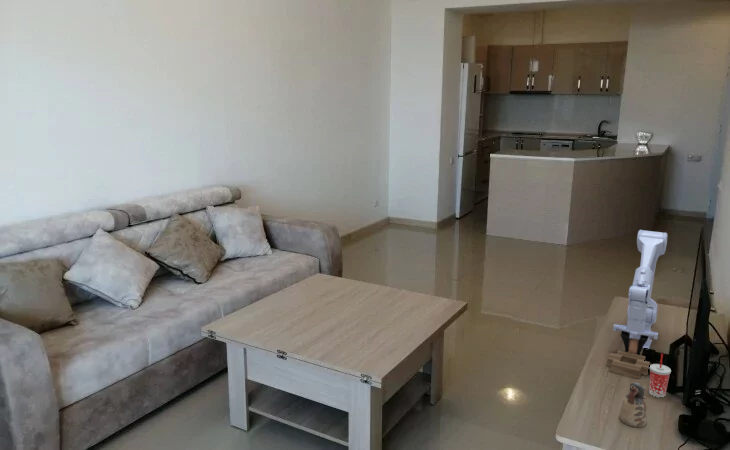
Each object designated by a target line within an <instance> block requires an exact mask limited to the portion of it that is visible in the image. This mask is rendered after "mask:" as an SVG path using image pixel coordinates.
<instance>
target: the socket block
mask: <svg viewBox="0 0 730 450" xmlns="http://www.w3.org/2000/svg"><path fill="white" fill-rule="evenodd" d="M644 360H645V361H644ZM649 365H651V362H650V361H647V360H646V356H645V355H641V354H640V355H637V354H633V353H628V352H625V350H624V351H622V350H619V349H618V350H617V352H616V353H611V352H610V353H609V354H608V355H607V359H606V367H609V368H610V371H609V372H610V373H613V374H616V375H617V374H618V375H621V376H625V377H629V378H634V379H636V380H637V379H638V380H639V379H640V377H641V375H642V374H643V375H642V376H646V375H647V376H648V374H649V372H648V369H649V370H650V367H649Z"/></svg>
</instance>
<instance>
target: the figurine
mask: <svg viewBox="0 0 730 450" xmlns="http://www.w3.org/2000/svg"><path fill="white" fill-rule="evenodd" d="M629 385H630V386H629V393H628V394H626V395H625V396H624V397H623V399H622V402H621V407H620V410H619V419H620V421H621V422H622V423H624V424H625V425H627V426H630V427H633V428H642V427H645V426H647V425H646V424H647V405H646V402H645V401H644V400H646V399H647V397H645V391H646V388H645V387H643V386H642V385H641V384H640V383H639V382H633V383H630V384H629Z"/></svg>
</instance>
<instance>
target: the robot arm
mask: <svg viewBox="0 0 730 450" xmlns="http://www.w3.org/2000/svg"><path fill="white" fill-rule="evenodd" d="M668 236H669V235H668V233H667V232H660V231H652V230H645V229H644V230H643V229H639V230H638V231H637V237H636V245H637V250H638V252H640V253H641V255H640V257H641V258H640V265H639V267H637V268H635V272H634V276H633V281H632V285H630V286H629V289H628V305H627V311H626V317H627V322H626V325H625V324H616V323H614V324H613V328H612V331H613V332H620V337H621V339H622V341H623V345H624V352H628V344H629V338H636V339H639V349H638V355H641V352H642V350H643V349H644V348H648V349H647V350H649V349H650V347H651V345H652V342H653V340H658V337H659V332H656V331H652V326H651V324H652V325H654V324H655V323H657V317H658V303H657V302H656V301H655V300H654V299H652V292H653V287H654V286H653V284H654V279H655V274H656V267H657V262H658V259H659V257H660V256H663V255H665V253H666V249H667V244H668ZM647 305H650V306H652V307H648V306H647Z"/></svg>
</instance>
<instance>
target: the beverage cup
mask: <svg viewBox="0 0 730 450" xmlns="http://www.w3.org/2000/svg"><path fill="white" fill-rule="evenodd" d="M663 358H664V353H661V354H660V360H659V361H660V362H659V363H653V364H652V363H651V364H650V367H649V388H648V389H649V390H648V392H649V395H650V396H652V395H653V396H652V397H655V396H656V397H655V398H659V397H663V398H665V397H666V394H667V389H668V384H669V379H670V376H671V375H670V374H671V372H672V370H671V368H670V367H669V366H667V365H664V364H663ZM664 396H665V397H664Z"/></svg>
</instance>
